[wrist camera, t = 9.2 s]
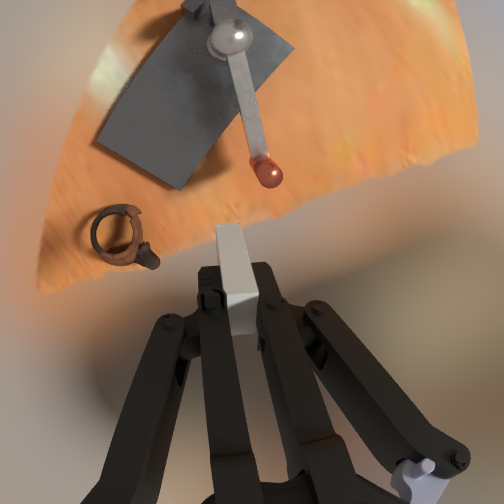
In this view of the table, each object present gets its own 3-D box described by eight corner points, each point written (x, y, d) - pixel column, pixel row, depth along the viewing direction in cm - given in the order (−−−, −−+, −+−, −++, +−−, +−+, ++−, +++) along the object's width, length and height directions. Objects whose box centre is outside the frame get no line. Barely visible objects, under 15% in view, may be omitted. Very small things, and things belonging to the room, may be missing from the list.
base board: (208, -7, 26) (209, -24, 20) (290, 49, 32) (308, 44, 26) (100, 138, 34) (82, 149, 28) (180, 185, 40) (177, 205, 35)
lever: (201, 12, 25) (202, -8, 18) (236, 5, 25) (248, -16, 18) (242, 169, 38) (253, 193, 31) (273, 161, 38) (292, 183, 31)
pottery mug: (93, 246, 44) (74, 247, 35) (119, 197, 44) (105, 188, 36) (152, 282, 46) (143, 291, 38) (179, 232, 46) (176, 230, 38)
